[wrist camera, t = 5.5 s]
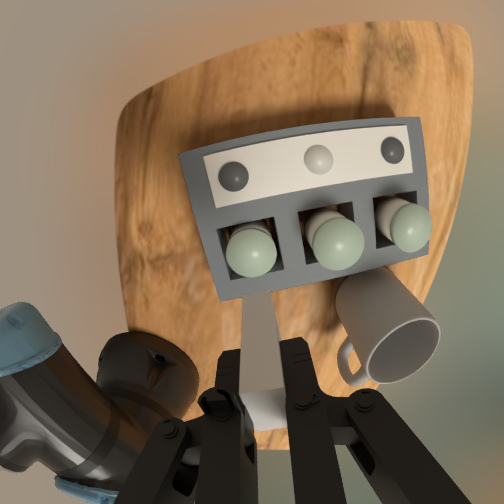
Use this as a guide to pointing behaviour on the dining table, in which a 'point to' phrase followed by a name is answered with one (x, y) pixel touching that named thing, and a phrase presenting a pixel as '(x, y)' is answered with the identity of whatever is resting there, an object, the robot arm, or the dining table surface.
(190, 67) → the dining table surface
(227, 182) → the card
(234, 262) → the button
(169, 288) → the dining table surface
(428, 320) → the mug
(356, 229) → the button mid
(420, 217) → the button
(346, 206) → the button board
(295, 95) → the dining table surface
